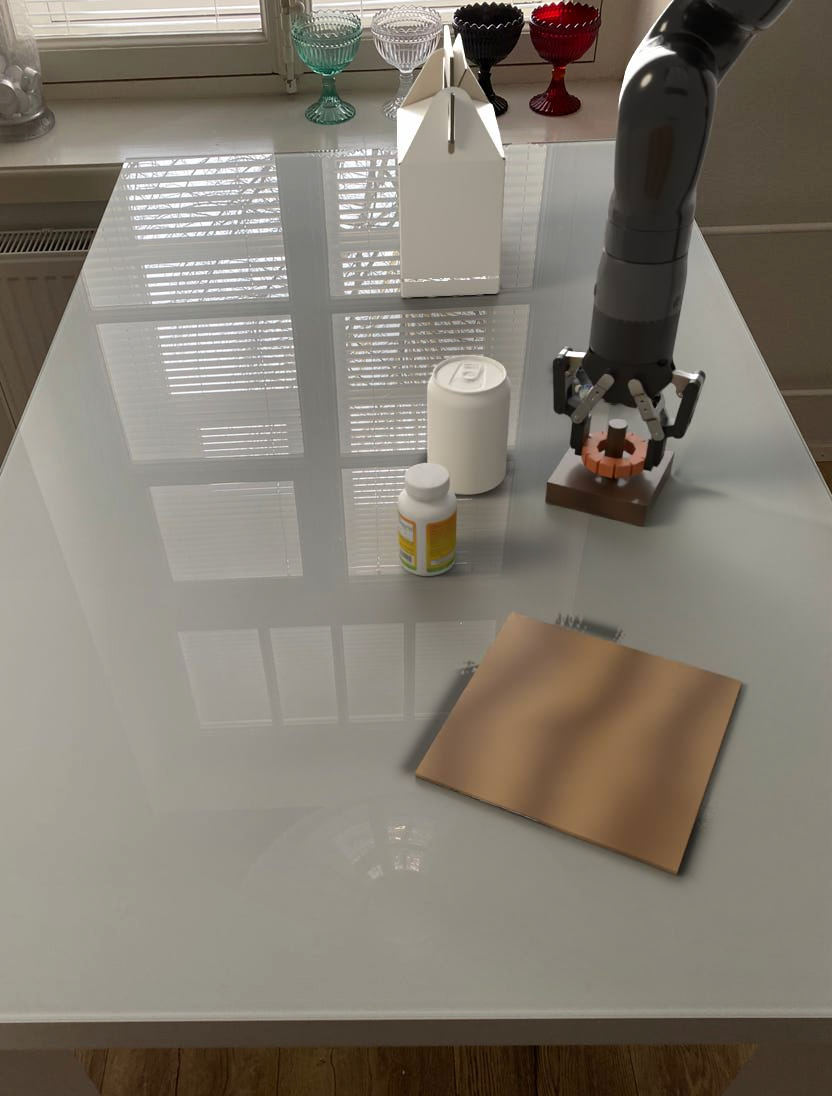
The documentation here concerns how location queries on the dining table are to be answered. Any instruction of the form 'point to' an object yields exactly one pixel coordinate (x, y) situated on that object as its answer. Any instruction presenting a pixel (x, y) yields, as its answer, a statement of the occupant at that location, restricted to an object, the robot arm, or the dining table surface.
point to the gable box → (449, 180)
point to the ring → (614, 458)
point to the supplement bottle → (427, 520)
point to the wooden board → (587, 738)
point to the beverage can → (469, 422)
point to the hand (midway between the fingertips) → (614, 458)
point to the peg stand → (608, 483)
